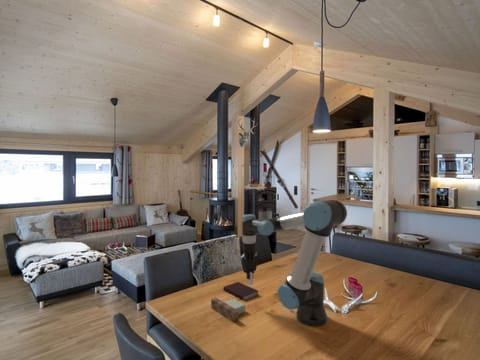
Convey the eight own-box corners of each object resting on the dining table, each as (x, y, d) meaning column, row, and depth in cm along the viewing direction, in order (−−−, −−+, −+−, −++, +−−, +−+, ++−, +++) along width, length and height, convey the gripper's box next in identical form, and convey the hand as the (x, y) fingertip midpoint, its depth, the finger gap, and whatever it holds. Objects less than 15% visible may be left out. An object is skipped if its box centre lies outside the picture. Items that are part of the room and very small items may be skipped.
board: (238, 320, 147) (238, 310, 147) (233, 322, 146) (233, 312, 145) (215, 306, 163) (215, 297, 163) (211, 307, 161) (211, 298, 161)
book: (243, 301, 169) (243, 296, 169) (223, 291, 184) (223, 285, 184) (258, 295, 177) (258, 290, 177) (238, 286, 192) (238, 281, 192)
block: (245, 311, 157) (245, 304, 157) (233, 316, 152) (233, 309, 152) (233, 305, 165) (233, 298, 164) (221, 310, 159) (221, 302, 159)
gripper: (253, 239, 171) (254, 279, 171) (235, 243, 163) (236, 285, 163) (262, 241, 165) (263, 283, 166) (244, 245, 157) (245, 289, 157)
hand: (250, 284), depth 164 cm, fingers closed
